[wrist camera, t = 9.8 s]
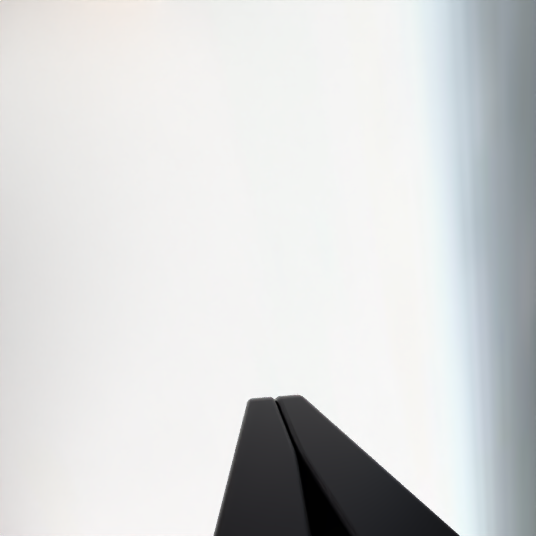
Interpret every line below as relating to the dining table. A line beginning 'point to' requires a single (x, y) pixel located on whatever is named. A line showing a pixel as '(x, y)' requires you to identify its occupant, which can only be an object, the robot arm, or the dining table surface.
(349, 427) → the dining table surface
